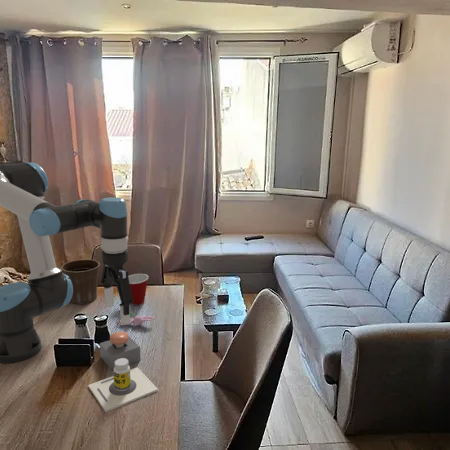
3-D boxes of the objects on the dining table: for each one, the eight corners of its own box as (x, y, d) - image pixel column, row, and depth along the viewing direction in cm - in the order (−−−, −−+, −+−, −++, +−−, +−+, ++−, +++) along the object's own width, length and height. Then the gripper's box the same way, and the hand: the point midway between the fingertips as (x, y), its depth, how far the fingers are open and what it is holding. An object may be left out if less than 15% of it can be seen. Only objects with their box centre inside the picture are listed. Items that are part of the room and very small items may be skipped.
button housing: (111, 370, 131) (111, 356, 130) (100, 356, 139) (99, 343, 137) (140, 360, 137) (139, 346, 136) (128, 347, 144) (127, 334, 143)
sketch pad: (105, 412, 112) (105, 410, 111) (88, 386, 122) (88, 384, 122) (157, 390, 121) (157, 388, 121) (137, 368, 132) (137, 366, 132)
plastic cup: (123, 299, 185) (122, 274, 182) (147, 296, 188) (147, 272, 185) (125, 309, 175) (124, 283, 172) (150, 306, 178) (150, 280, 175)
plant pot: (101, 304, 179) (99, 269, 175) (62, 308, 175) (59, 272, 171) (102, 290, 194) (100, 258, 190) (66, 293, 190) (63, 260, 186)
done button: (114, 357, 133) (114, 342, 132) (107, 349, 137) (107, 335, 136) (132, 351, 136) (131, 337, 135) (124, 343, 141) (124, 330, 140)
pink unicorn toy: (115, 331, 159) (152, 327, 157) (112, 317, 158) (149, 313, 156) (121, 323, 165) (157, 320, 163) (118, 310, 164) (154, 306, 162)
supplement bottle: (111, 390, 120) (110, 365, 118) (118, 381, 124) (116, 356, 122) (127, 392, 119) (126, 367, 117) (133, 382, 123) (132, 358, 121)
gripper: (144, 259, 114) (145, 328, 119) (111, 237, 133) (114, 297, 139) (118, 264, 110) (120, 335, 115) (89, 241, 129) (92, 302, 134)
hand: (117, 314), depth 127 cm, fingers open, 13 cm apart
